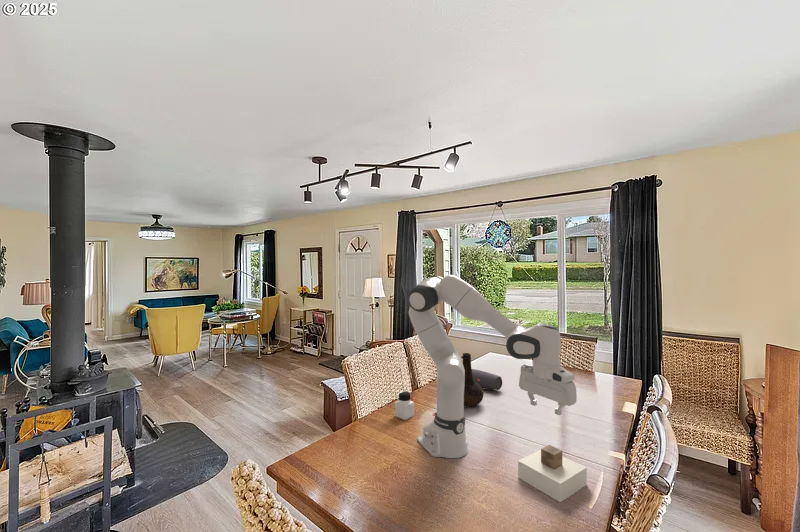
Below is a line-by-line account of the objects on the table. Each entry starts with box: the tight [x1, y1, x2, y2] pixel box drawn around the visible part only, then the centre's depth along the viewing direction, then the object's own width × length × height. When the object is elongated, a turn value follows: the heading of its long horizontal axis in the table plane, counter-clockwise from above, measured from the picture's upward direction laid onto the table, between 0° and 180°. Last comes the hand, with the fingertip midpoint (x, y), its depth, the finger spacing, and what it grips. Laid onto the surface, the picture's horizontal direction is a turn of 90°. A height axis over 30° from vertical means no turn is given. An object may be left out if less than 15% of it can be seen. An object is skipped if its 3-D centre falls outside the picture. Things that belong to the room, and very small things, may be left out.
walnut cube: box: [540, 444, 563, 470], centre depth 122 cm, size 5×5×5 cm
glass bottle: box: [460, 352, 485, 408], centre depth 191 cm, size 18×18×28 cm
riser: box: [517, 449, 588, 503], centre depth 122 cm, size 16×16×6 cm
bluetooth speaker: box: [471, 368, 503, 391], centre depth 218 cm, size 23×9×10 cm, turn 42°
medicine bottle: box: [394, 390, 415, 421], centre depth 176 cm, size 7×7×12 cm
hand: (545, 409), depth 122 cm, fingers open, 8 cm apart
